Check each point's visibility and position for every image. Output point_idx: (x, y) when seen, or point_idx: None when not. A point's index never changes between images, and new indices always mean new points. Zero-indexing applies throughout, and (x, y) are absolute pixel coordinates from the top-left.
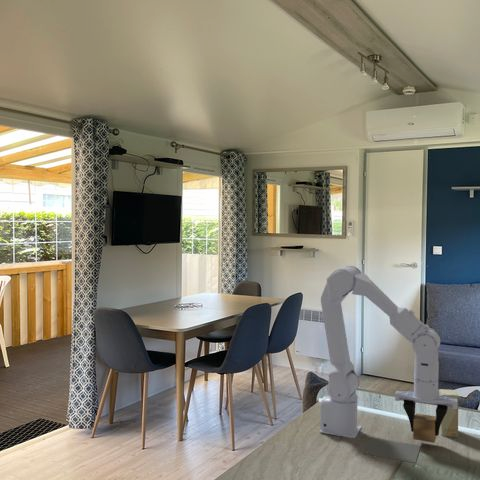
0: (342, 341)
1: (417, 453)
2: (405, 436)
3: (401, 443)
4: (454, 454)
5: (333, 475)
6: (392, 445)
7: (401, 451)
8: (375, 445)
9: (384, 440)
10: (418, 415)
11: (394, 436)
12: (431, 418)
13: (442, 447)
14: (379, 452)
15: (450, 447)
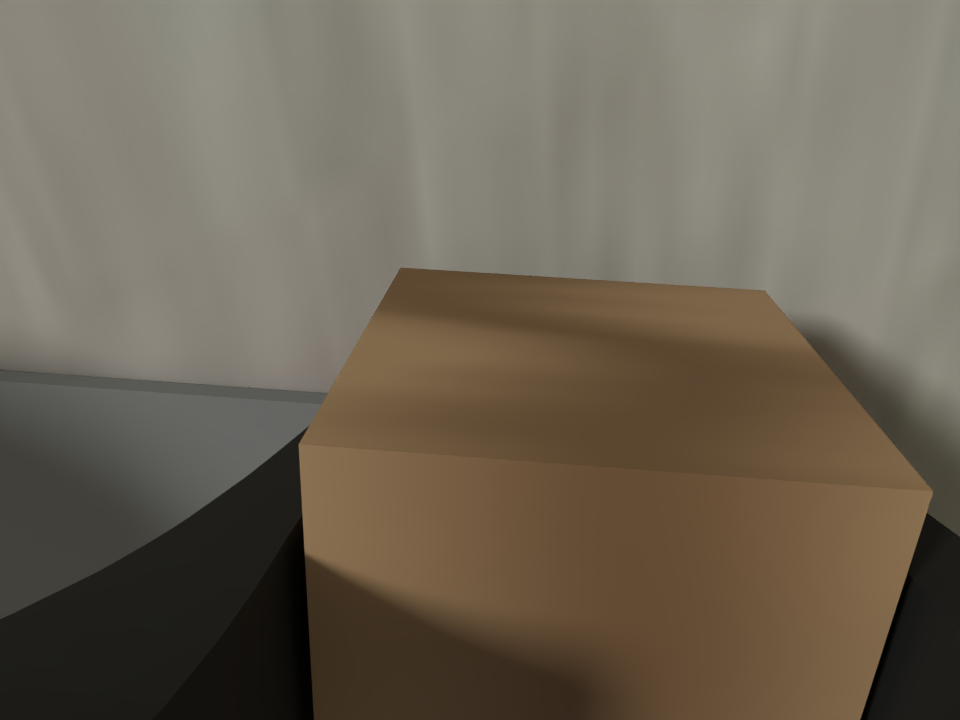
0: None
1: None
2: (242, 86)
3: (258, 429)
4: (942, 467)
5: None
6: (175, 512)
7: None
8: (6, 562)
9: (35, 406)
10: (389, 599)
11: (92, 154)
12: (742, 700)
13: (813, 307)
14: None
15: (940, 268)
